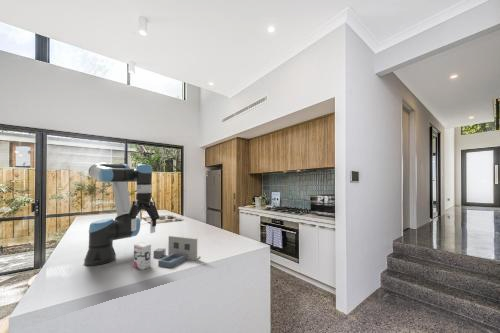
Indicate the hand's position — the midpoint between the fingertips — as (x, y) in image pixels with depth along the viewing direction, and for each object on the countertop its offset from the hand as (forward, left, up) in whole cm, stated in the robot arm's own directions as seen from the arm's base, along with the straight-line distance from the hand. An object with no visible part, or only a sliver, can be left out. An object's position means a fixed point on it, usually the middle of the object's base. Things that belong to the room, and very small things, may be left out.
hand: (143, 231), depth 119 cm
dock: (+12, +10, -19) cm, 24 cm away
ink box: (0, 0, -19) cm, 19 cm away
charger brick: (-3, +16, -19) cm, 25 cm away
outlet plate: (+12, +20, -18) cm, 29 cm away
